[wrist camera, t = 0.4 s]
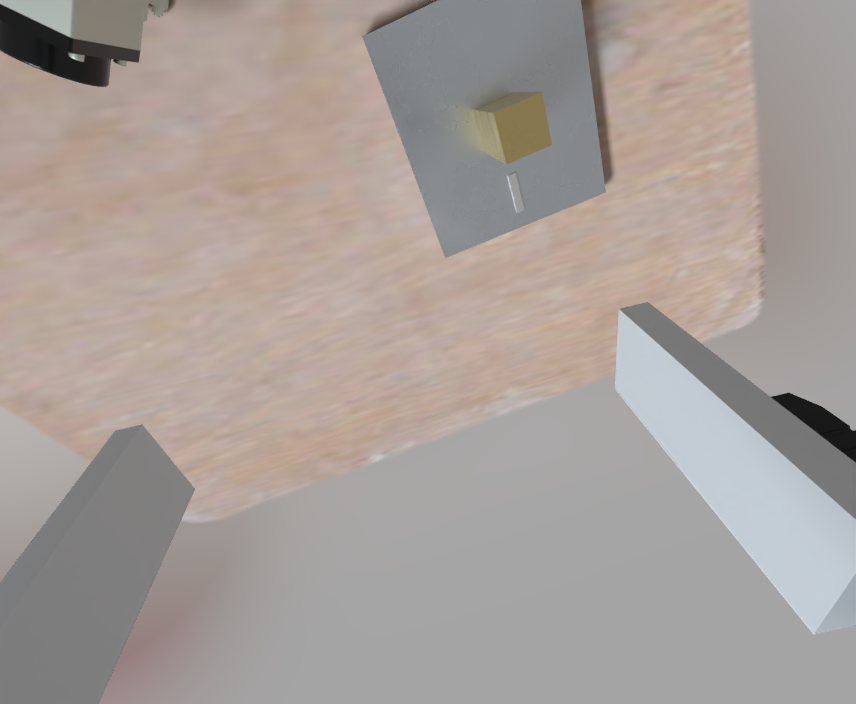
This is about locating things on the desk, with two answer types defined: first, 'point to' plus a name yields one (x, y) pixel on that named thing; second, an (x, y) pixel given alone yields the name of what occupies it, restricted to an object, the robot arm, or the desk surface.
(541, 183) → the grey peg base
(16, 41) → the pneumatic valve
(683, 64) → the desk surface
